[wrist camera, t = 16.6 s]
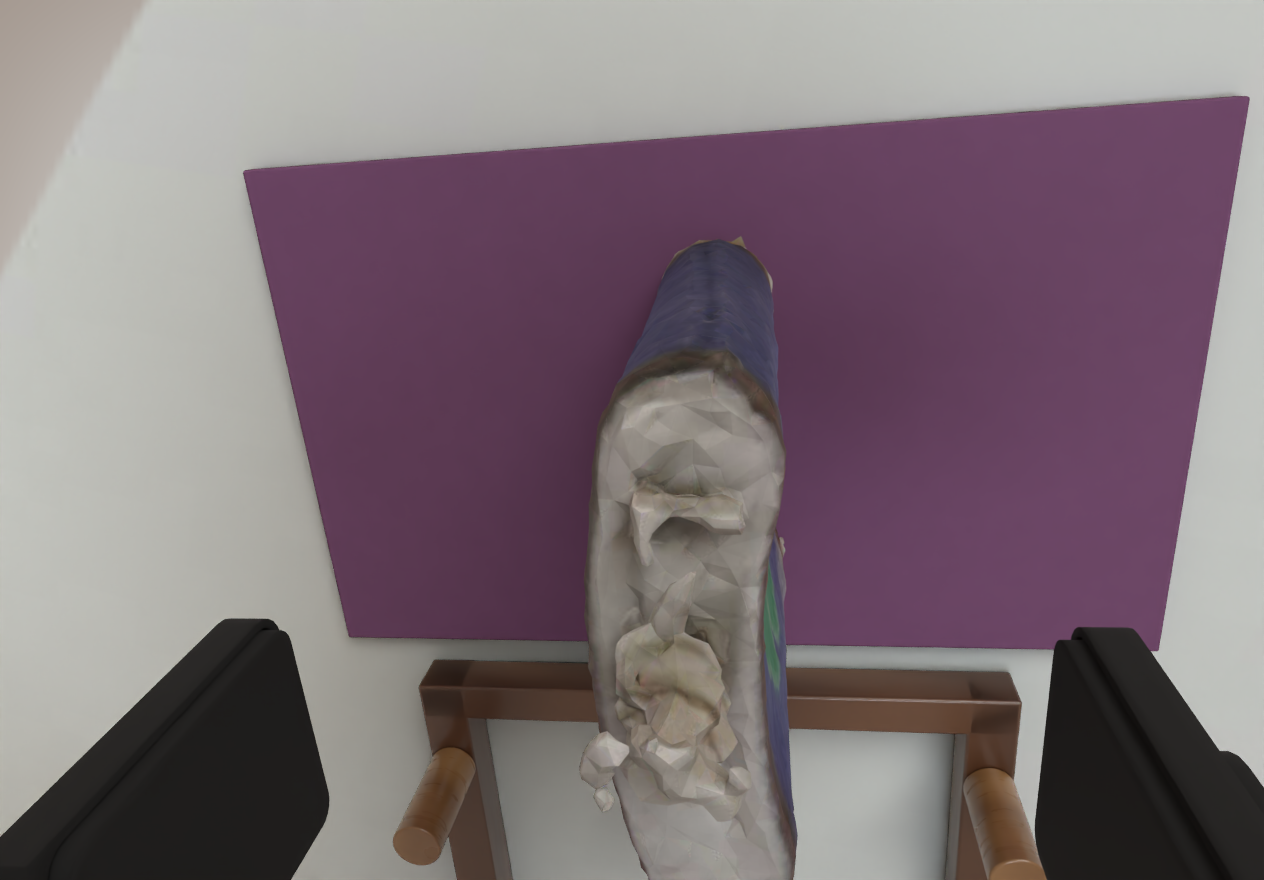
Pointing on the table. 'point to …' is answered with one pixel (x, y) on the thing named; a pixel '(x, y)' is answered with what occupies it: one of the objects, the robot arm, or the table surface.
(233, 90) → the table surface
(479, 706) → the dish rack
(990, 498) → the mat
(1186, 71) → the table surface
